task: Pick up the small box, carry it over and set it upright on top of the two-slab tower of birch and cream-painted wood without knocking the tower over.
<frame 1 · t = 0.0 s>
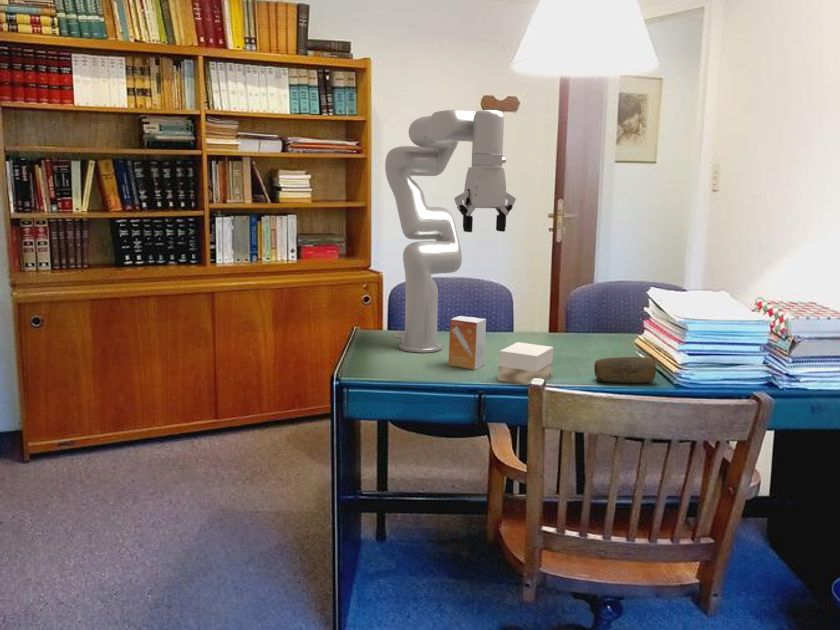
hand: (484, 231, 194), 37 cm above the table, tool pointing down, fingers open, 9 cm apart
small box: (466, 366, 211), on the table
tower top: (526, 364, 199), point 4 cm above the table
tower bottom: (524, 379, 200), on the table
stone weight: (623, 383, 198), on the table
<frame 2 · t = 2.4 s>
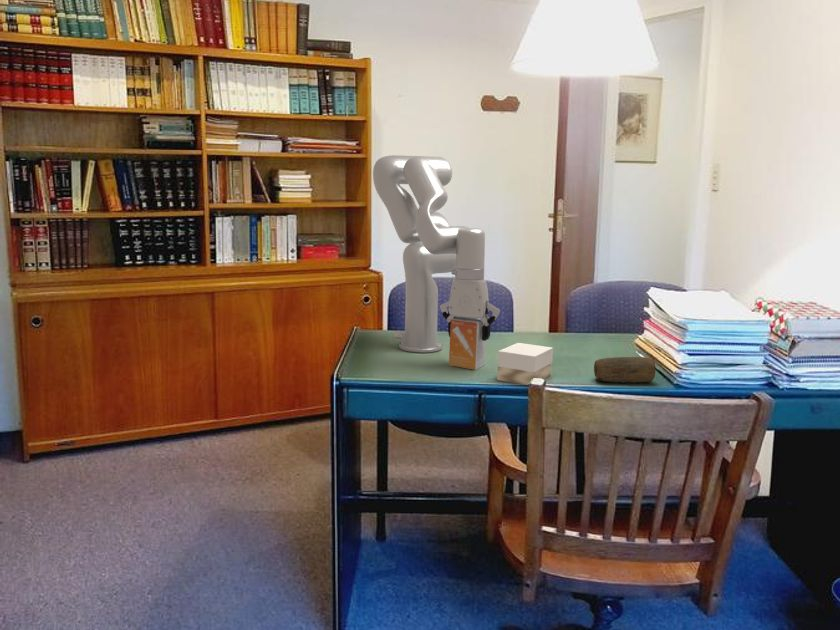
hand: (468, 338, 209), 8 cm above the table, tool pointing down, fingers open, 9 cm apart
tower top: (525, 364, 199), point 3 cm above the table, touching tower bottom
tower bottom: (524, 379, 200), on the table, touching tower top
everything else where it was.
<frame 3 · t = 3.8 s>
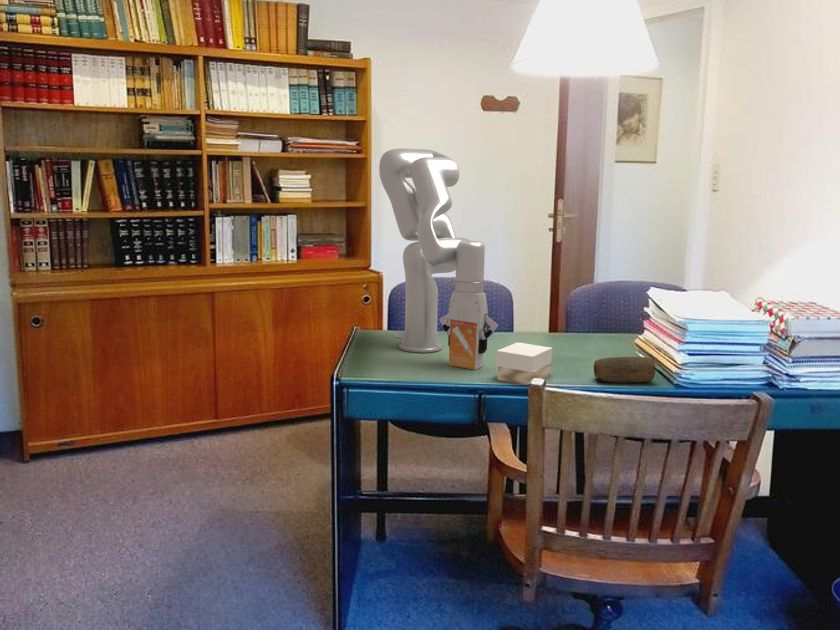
hand: (467, 350, 210), 4 cm above the table, tool pointing down, fingers closed on small box, 8 cm apart
small box: (466, 366, 211), on the table, touching gripper
everything else where it was.
when the fingers open (13 cm above the table, at t = 10.6 s): small box drops 2 cm, point 7 cm above the table.
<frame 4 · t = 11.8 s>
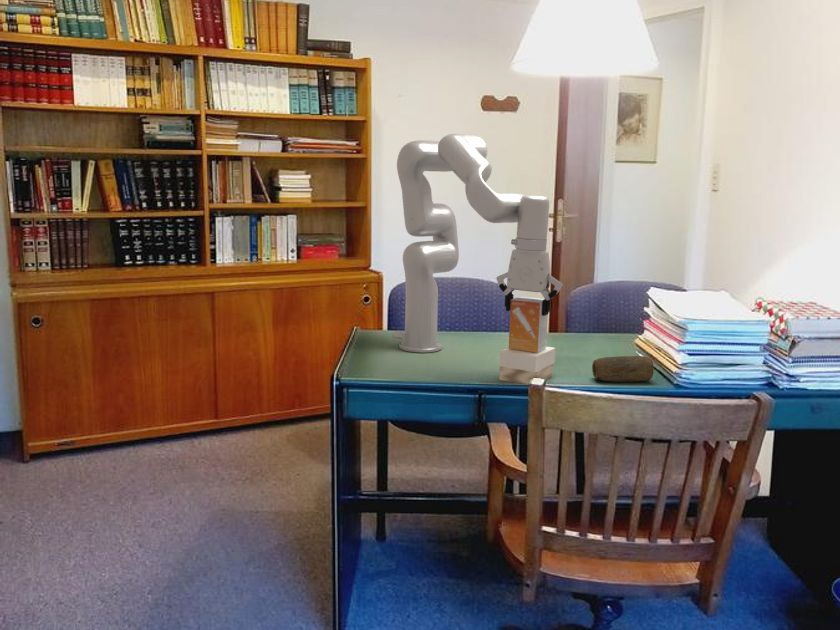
hand: (526, 312, 197), 17 cm above the table, tool pointing down, fingers open, 9 cm apart
small box: (527, 349, 199), point 7 cm above the table, touching gripper
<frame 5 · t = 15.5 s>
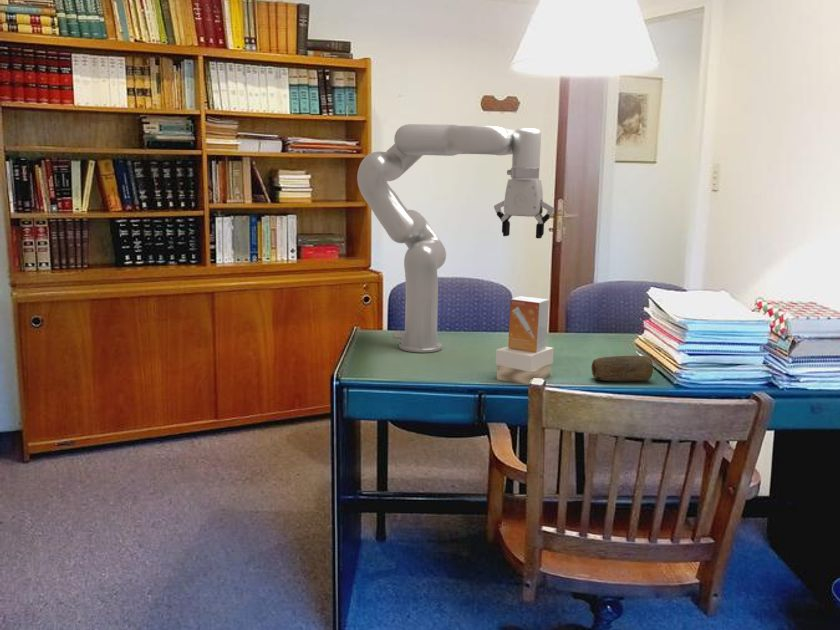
hand: (522, 237, 215), 34 cm above the table, tool pointing down, fingers open, 9 cm apart
small box: (527, 349, 199), point 7 cm above the table, touching tower top
tower top: (524, 363, 200), point 3 cm above the table, touching small box, tower bottom
at the end: small box 0.4 cm off-centre on the tower top, point 3.8 cm above the tower top's base; small box tilted 0°; tower bottom moved 0.9 cm from its start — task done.
